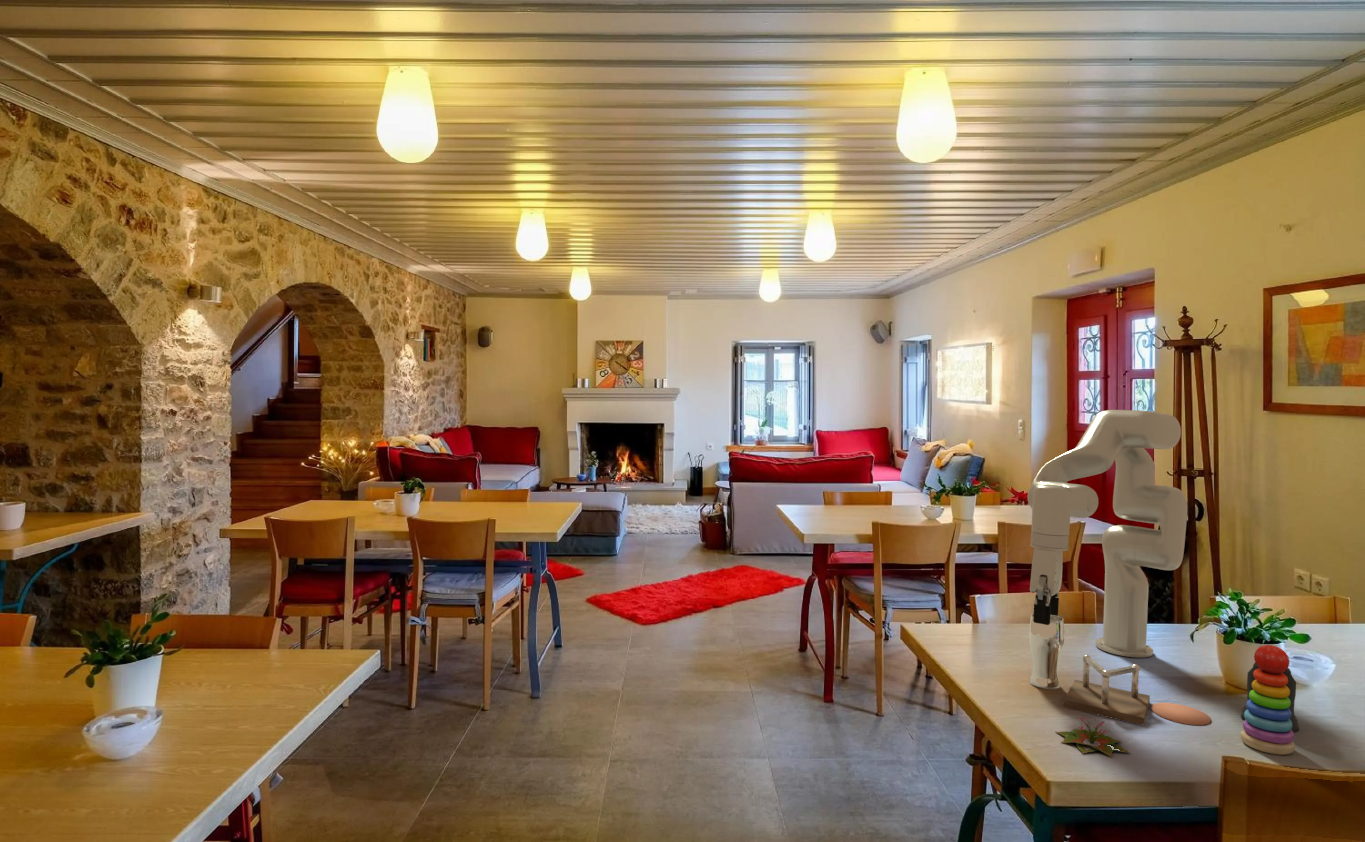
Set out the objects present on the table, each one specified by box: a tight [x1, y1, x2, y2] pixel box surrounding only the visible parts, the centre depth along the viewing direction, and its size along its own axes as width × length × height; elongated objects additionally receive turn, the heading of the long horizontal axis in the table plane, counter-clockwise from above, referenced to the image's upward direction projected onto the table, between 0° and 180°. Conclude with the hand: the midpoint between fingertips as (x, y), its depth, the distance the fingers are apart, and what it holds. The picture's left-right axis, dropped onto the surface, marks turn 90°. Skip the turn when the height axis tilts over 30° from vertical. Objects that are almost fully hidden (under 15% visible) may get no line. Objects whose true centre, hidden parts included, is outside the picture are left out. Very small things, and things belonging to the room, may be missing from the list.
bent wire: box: [1082, 654, 1141, 705], centre depth 155 cm, size 10×11×7 cm
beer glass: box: [1028, 613, 1065, 691], centre depth 165 cm, size 7×7×15 cm
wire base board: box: [1063, 679, 1151, 726], centre depth 155 cm, size 14×14×2 cm
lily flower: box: [1056, 716, 1131, 758], centre depth 137 cm, size 12×12×5 cm
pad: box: [1150, 702, 1211, 726], centre depth 151 cm, size 10×10×1 cm
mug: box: [1240, 661, 1300, 734], centre depth 149 cm, size 12×9×11 cm
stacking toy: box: [1239, 644, 1296, 756], centre depth 137 cm, size 8×8×19 cm
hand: (1045, 618), depth 165 cm, fingers open, 9 cm apart
